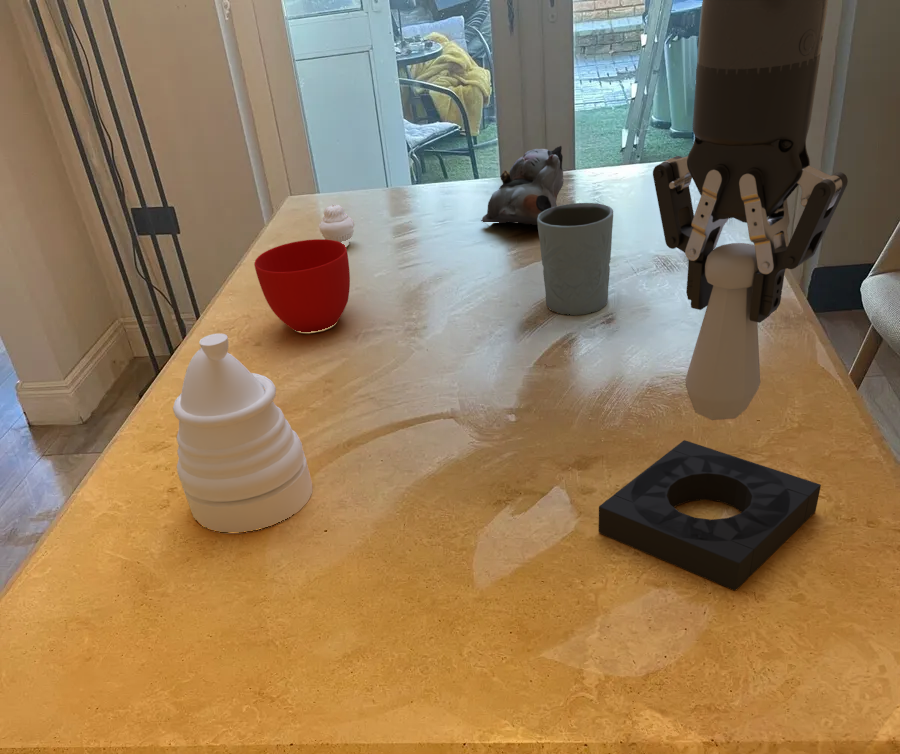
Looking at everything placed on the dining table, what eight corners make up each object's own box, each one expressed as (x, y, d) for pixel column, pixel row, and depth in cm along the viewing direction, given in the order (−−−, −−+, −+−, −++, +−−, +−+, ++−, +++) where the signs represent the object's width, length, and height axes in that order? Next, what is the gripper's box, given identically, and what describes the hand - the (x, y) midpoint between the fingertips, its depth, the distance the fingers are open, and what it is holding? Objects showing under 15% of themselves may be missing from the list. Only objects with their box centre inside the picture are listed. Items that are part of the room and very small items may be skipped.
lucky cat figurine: (472, 223, 151) (490, 138, 147) (534, 240, 155) (553, 157, 151) (499, 218, 138) (519, 124, 133) (565, 237, 141) (587, 146, 137)
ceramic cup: (387, 299, 128) (376, 231, 122) (330, 347, 117) (315, 275, 110) (315, 294, 133) (301, 228, 127) (254, 340, 122) (235, 270, 115)
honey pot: (337, 490, 89) (298, 324, 77) (235, 549, 83) (176, 379, 71) (267, 452, 96) (223, 297, 85) (169, 504, 90) (107, 344, 79)
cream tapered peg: (679, 423, 69) (691, 262, 61) (686, 390, 73) (698, 235, 65) (755, 427, 68) (778, 262, 59) (757, 393, 72) (780, 234, 63)
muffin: (326, 242, 152) (318, 201, 148) (359, 238, 152) (352, 197, 147) (320, 254, 148) (312, 211, 143) (355, 250, 147) (347, 208, 142)
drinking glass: (573, 323, 114) (572, 231, 107) (525, 304, 121) (520, 216, 113) (627, 300, 118) (630, 209, 111) (577, 283, 125) (577, 196, 117)
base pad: (682, 465, 85) (684, 439, 84) (815, 512, 77) (821, 484, 75) (598, 532, 78) (598, 506, 77) (735, 591, 70) (739, 563, 68)
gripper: (897, 40, 52) (843, 313, 63) (692, 38, 60) (676, 279, 71) (840, 66, 48) (794, 351, 59) (630, 60, 56) (624, 311, 67)
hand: (730, 310), depth 65 cm, fingers closed on cream tapered peg, 4 cm apart
